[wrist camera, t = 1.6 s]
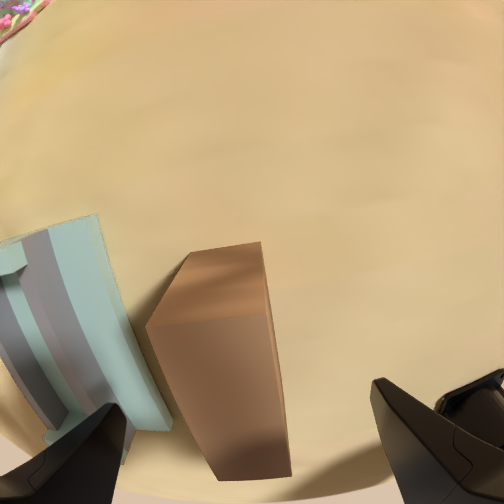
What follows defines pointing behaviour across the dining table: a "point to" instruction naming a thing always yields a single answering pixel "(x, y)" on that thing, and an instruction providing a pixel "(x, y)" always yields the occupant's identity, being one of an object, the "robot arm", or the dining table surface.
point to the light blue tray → (72, 332)
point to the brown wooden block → (225, 361)
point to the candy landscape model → (17, 14)
